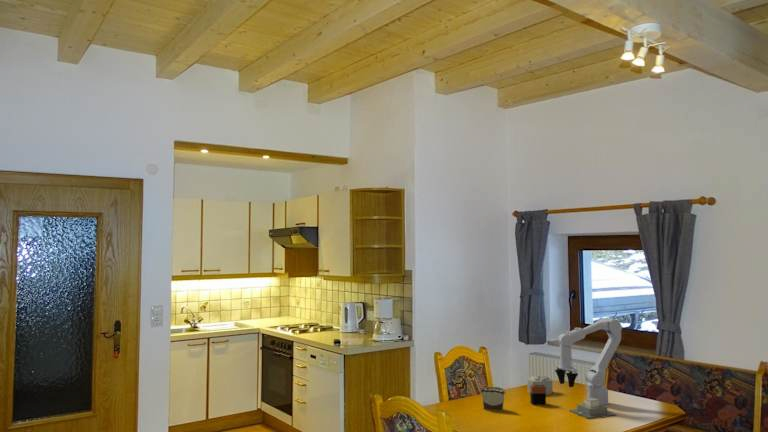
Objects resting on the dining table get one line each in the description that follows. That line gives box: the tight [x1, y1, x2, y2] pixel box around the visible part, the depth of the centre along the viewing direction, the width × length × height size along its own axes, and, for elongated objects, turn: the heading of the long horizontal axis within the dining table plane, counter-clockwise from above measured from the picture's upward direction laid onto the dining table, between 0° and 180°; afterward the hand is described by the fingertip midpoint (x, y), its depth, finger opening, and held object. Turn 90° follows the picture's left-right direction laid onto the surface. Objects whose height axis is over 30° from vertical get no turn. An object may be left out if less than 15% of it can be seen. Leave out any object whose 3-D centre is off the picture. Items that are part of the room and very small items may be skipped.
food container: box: [480, 386, 506, 412], centre depth 286 cm, size 12×6×10 cm, turn 65°
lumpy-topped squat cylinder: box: [526, 374, 554, 396], centre depth 318 cm, size 10×13×9 cm
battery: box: [529, 383, 547, 406], centre depth 294 cm, size 4×7×10 cm, turn 93°
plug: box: [584, 397, 599, 408], centre depth 276 cm, size 5×4×6 cm
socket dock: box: [568, 402, 617, 420], centre depth 276 cm, size 16×14×4 cm
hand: (566, 385), depth 293 cm, fingers open, 7 cm apart
